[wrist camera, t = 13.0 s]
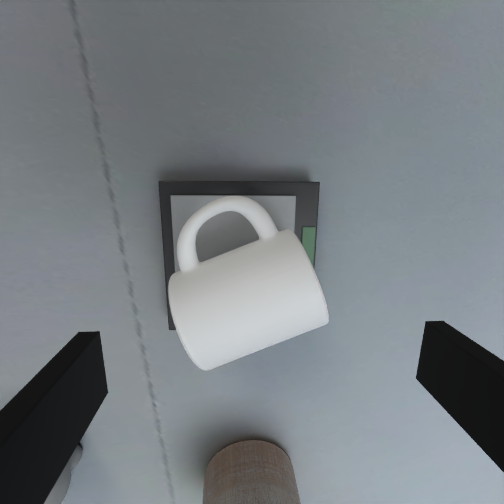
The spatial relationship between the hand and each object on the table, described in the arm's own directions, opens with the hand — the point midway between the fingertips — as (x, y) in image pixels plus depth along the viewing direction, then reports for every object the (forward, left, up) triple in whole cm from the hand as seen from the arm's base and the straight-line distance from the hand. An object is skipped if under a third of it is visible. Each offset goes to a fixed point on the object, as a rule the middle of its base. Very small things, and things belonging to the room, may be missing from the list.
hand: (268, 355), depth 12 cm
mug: (+1, 0, -15) cm, 15 cm away
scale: (0, 0, -18) cm, 18 cm away
